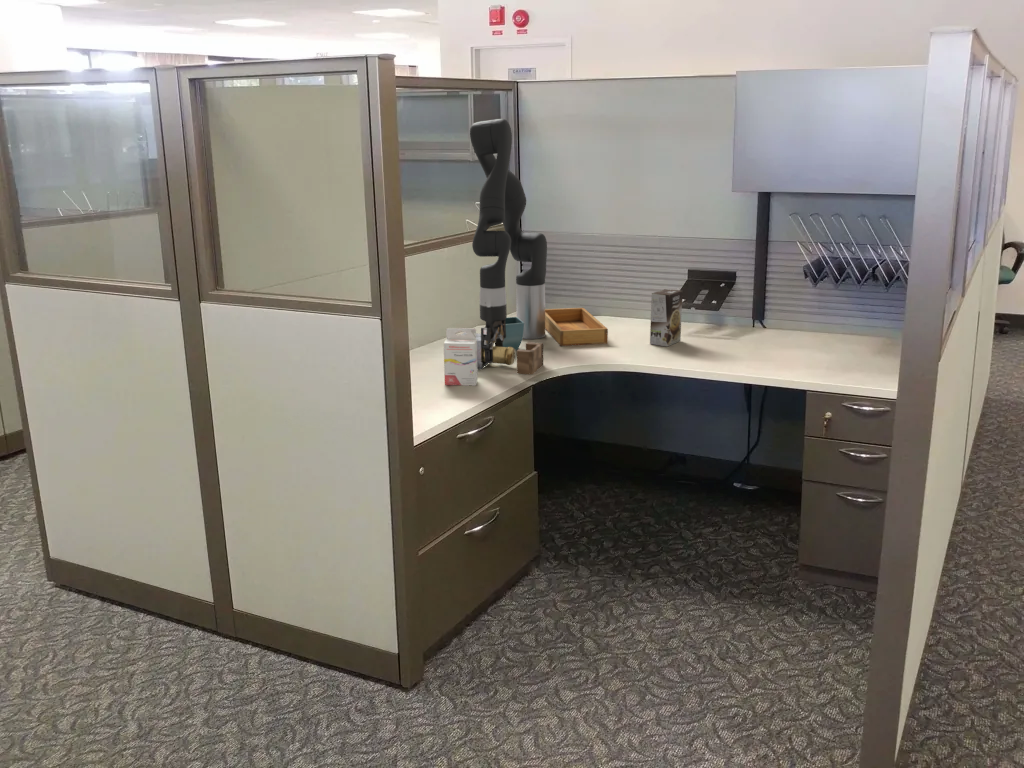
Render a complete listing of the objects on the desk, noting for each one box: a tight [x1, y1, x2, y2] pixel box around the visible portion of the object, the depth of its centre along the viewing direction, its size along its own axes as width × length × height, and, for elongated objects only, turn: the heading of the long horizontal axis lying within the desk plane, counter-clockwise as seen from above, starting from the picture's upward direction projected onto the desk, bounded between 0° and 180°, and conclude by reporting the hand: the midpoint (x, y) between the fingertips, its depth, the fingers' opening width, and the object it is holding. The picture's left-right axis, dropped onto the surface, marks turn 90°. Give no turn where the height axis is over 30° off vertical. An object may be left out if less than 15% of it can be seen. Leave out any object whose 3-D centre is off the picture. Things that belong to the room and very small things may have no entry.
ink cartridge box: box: [443, 327, 478, 386], centre depth 243 cm, size 9×5×15 cm, turn 86°
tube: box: [482, 345, 516, 366], centre depth 261 cm, size 16×5×5 cm, turn 71°
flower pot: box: [503, 316, 524, 351], centre depth 279 cm, size 9×9×9 cm
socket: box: [516, 341, 544, 376], centre depth 257 cm, size 10×4×6 cm, turn 161°
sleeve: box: [460, 332, 489, 370], centre depth 262 cm, size 8×8×8 cm
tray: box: [545, 307, 609, 347], centre depth 298 cm, size 31×15×6 cm, turn 10°
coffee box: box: [649, 288, 684, 347], centre depth 283 cm, size 9×6×16 cm
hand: (494, 358), depth 260 cm, fingers open, 8 cm apart
